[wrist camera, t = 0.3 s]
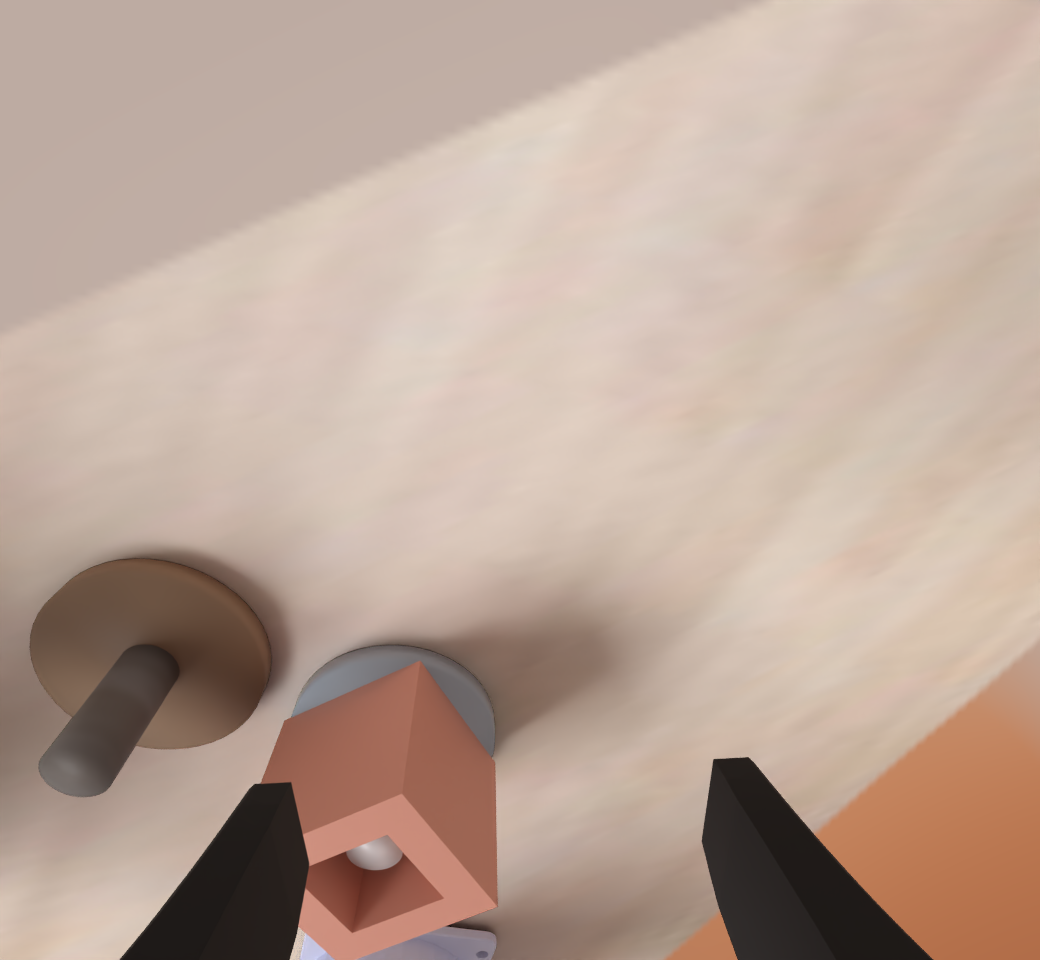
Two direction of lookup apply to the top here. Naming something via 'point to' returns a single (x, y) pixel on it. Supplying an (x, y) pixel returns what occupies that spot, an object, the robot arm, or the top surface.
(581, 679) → the top surface
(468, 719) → the stand
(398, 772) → the salmon square tube
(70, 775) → the hub
